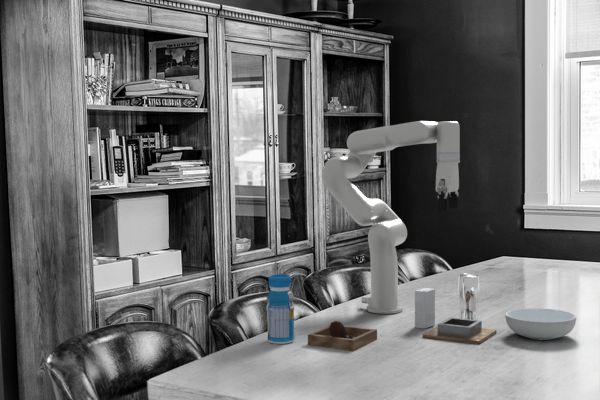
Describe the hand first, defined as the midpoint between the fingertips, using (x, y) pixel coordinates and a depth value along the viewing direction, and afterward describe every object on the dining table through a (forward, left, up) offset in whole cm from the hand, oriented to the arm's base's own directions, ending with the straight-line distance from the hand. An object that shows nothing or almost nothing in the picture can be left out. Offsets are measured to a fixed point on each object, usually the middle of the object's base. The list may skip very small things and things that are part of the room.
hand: (448, 209), depth 276 cm
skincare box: (-2, -16, -37) cm, 40 cm away
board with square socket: (+12, -22, -37) cm, 44 cm away
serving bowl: (+34, -12, -37) cm, 52 cm away
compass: (-16, -46, -37) cm, 61 cm away
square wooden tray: (-16, -46, -37) cm, 61 cm away
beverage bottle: (-33, -54, -37) cm, 73 cm away
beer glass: (+7, 0, -37) cm, 38 cm away
